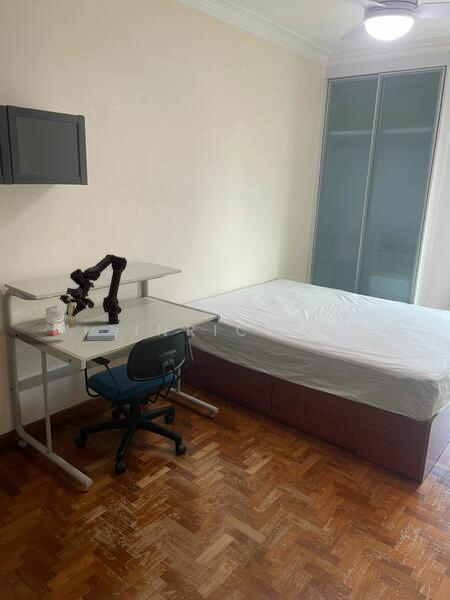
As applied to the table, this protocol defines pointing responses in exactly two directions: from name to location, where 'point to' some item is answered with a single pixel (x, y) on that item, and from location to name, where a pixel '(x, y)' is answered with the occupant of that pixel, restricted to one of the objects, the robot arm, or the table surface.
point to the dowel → (71, 318)
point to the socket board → (103, 333)
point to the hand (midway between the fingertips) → (69, 315)
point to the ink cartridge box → (54, 321)
